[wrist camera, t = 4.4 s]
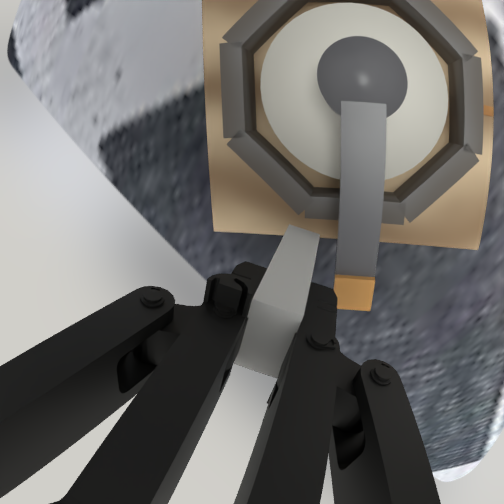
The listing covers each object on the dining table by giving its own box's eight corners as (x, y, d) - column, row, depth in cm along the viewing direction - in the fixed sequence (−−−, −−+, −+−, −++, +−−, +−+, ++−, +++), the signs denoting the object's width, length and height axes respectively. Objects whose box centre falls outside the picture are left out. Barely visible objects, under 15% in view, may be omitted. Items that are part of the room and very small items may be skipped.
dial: (263, 14, 14) (231, -25, 9) (432, 22, 12) (467, -12, 7) (271, 250, 20) (245, 299, 15) (424, 261, 18) (449, 315, 13)
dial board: (213, -15, 16) (185, -38, 12) (468, -6, 11) (492, -27, 7) (223, 222, 23) (199, 245, 19) (468, 239, 19) (492, 266, 15)
